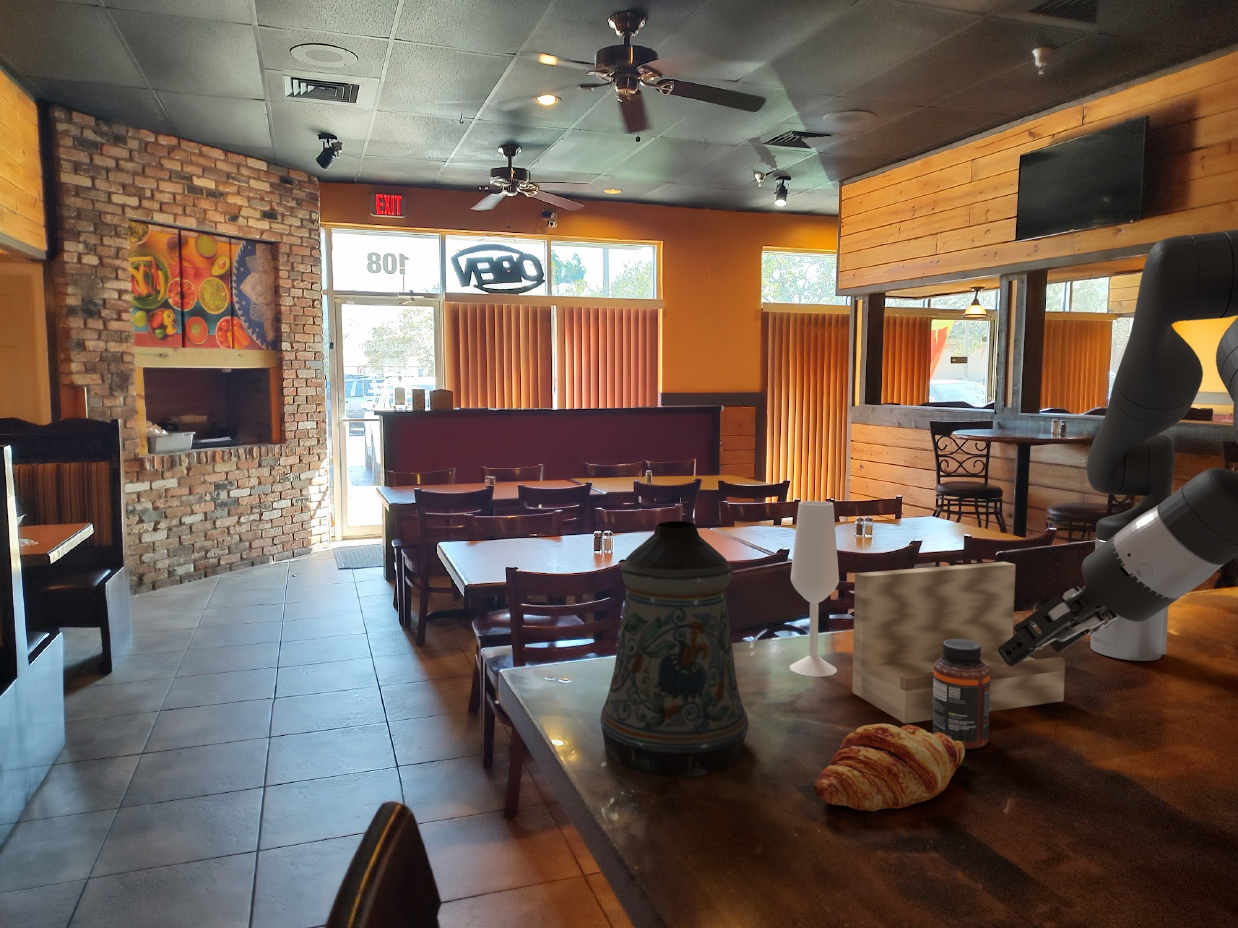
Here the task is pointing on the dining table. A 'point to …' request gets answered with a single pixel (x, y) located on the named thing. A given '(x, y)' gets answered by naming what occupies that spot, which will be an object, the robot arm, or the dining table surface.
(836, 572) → the champagne flute
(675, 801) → the dining table surface
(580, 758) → the dining table surface
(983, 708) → the supplement bottle
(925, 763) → the croissant
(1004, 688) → the board
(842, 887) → the dining table surface
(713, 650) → the beer stein
